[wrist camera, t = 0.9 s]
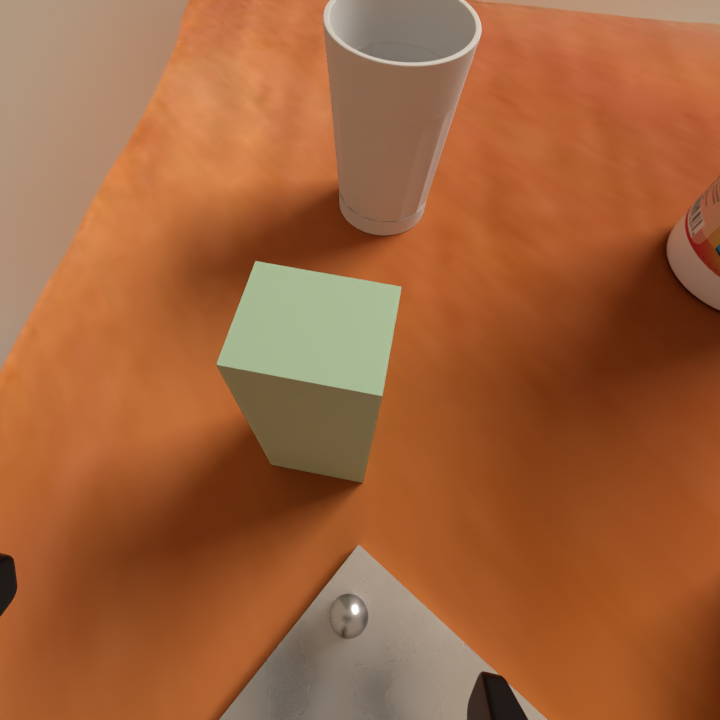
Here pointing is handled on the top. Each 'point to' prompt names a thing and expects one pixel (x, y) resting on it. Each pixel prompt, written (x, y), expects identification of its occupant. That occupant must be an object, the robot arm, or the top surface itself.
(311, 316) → the pale green block
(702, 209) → the fruit juice
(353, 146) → the cup
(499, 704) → the robot arm
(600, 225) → the top surface
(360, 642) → the plate
